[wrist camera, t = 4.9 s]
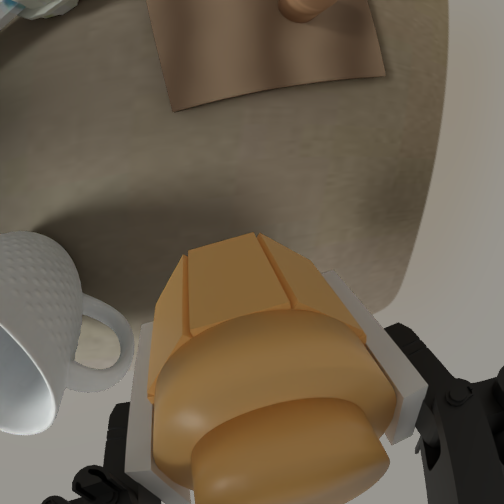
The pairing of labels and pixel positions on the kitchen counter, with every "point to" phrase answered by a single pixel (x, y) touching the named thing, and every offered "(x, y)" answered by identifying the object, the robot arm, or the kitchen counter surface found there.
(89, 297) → the mug
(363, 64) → the post board
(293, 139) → the kitchen counter surface
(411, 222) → the kitchen counter surface
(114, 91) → the kitchen counter surface
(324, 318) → the acorn cap nut
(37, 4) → the electric scrub brush
